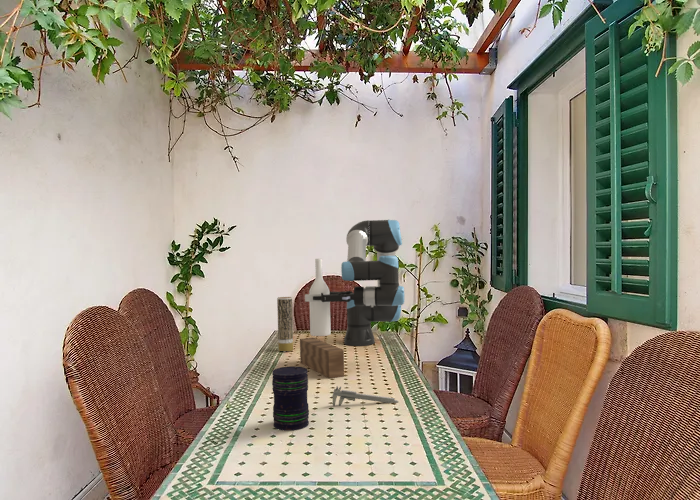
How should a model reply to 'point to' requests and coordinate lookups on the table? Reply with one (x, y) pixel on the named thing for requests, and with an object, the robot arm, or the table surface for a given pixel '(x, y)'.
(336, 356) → the wooden block
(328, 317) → the bottle
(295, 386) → the storage jar
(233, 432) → the table surface
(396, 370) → the table surface
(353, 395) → the caliper
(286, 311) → the paper tube
